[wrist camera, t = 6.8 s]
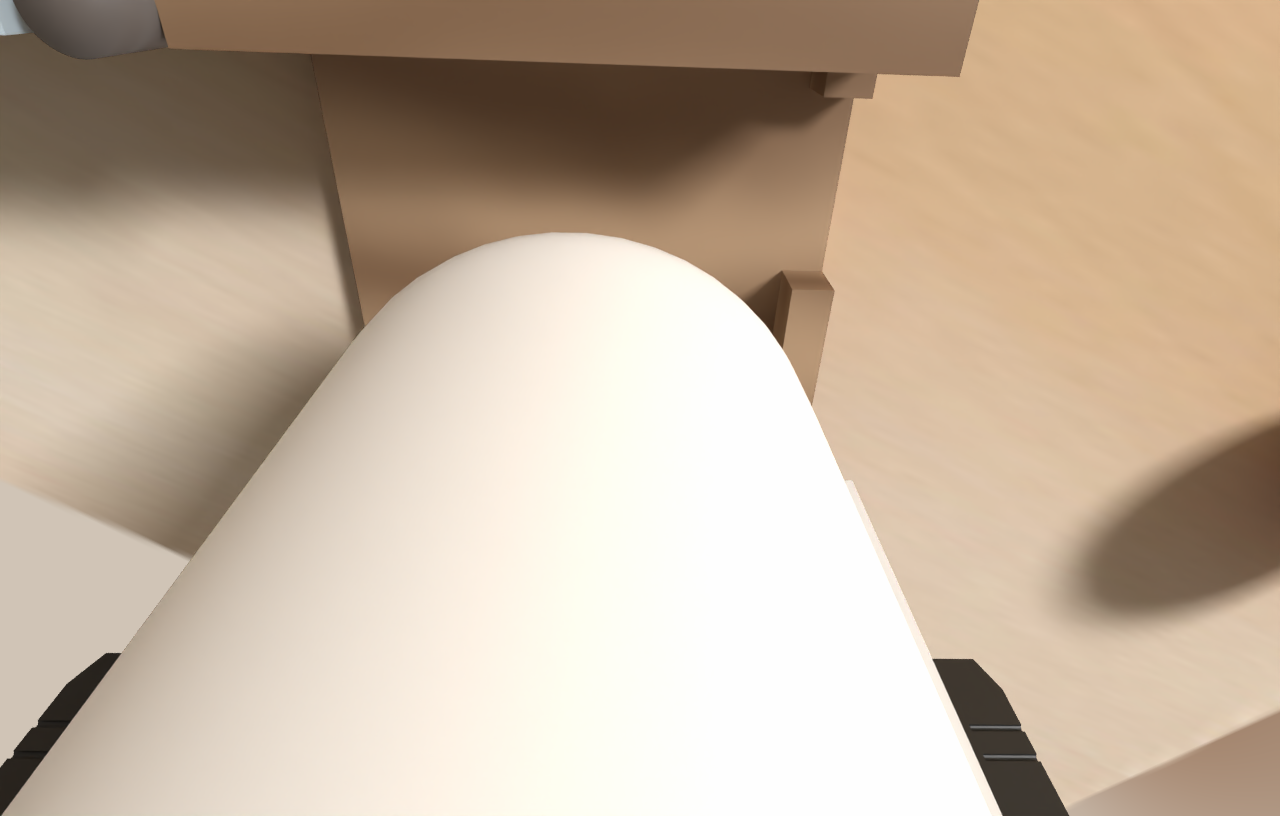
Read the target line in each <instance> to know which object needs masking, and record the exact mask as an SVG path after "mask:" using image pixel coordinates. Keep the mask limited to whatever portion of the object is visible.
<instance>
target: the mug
mask: <svg viewBox="0 0 1280 816" xmlns="http://www.w3.org/2000/svg"><path fill="white" fill-rule="evenodd" d="M2 816H992V815H991V813H990V811H989V809H988V806H987V804H986V802H985V800H984V797H983V795H982V793H981V790H980V788H979V786H978V784H977V781H976V779H975V777H974V775H973V772H972V770H971V768H970V765H969V763H968V761H967V759H966V756H965V754H964V752H963V750H962V747H961V745H960V743H959V740H958V738H957V736H956V734H955V731H954V729H953V727H952V725H951V722H950V720H949V718H948V715H947V713H946V711H945V709H944V706H943V704H942V702H941V700H940V697H939V695H938V693H937V690H936V688H935V686H934V684H933V681H932V679H931V677H930V675H929V672H928V670H927V668H926V665H925V663H924V661H923V659H922V656H921V654H920V652H919V650H918V647H917V645H916V643H915V640H914V638H913V636H912V634H911V631H910V629H909V627H908V624H907V622H906V620H905V618H904V615H903V613H902V611H901V609H900V606H899V604H898V602H897V599H896V597H895V595H894V593H893V590H892V588H891V586H890V584H889V581H888V579H887V577H886V574H885V572H884V570H883V568H882V565H881V563H880V561H879V559H878V556H877V554H876V552H875V549H874V547H873V545H872V543H871V540H870V538H869V536H868V534H867V531H866V529H865V527H864V524H863V522H862V520H861V518H860V515H859V513H858V511H857V509H856V506H855V504H854V502H853V499H852V497H851V495H850V493H849V490H848V488H847V486H846V484H845V481H844V479H843V477H842V474H841V472H840V470H839V468H838V465H837V463H836V461H835V459H834V456H833V454H832V452H831V449H830V447H829V445H828V443H827V440H826V438H825V436H824V434H823V431H822V429H821V427H820V424H819V422H818V420H817V418H816V415H815V413H814V411H813V409H812V406H811V404H810V402H809V400H808V398H807V396H806V394H805V392H804V389H803V387H802V385H801V383H800V381H799V379H798V377H797V375H796V373H795V371H794V369H793V367H792V365H791V363H790V361H789V359H788V358H787V356H786V354H785V353H784V351H783V349H782V348H781V346H780V345H779V343H778V342H777V341H776V339H775V338H774V336H773V335H772V333H771V332H770V331H769V329H768V328H767V326H766V325H765V324H764V323H763V322H762V321H761V320H760V319H759V317H758V316H757V315H756V314H755V313H754V312H753V311H752V310H751V309H750V308H749V307H748V306H747V305H746V304H745V303H744V302H743V301H742V300H741V299H740V298H739V297H738V296H737V295H735V294H734V293H733V292H732V291H730V290H729V289H728V288H726V287H725V286H724V285H723V284H721V283H720V282H719V281H718V280H716V279H715V278H714V277H712V276H711V275H709V274H707V273H706V272H704V271H702V270H701V269H699V268H697V267H695V266H694V265H692V264H690V263H689V262H687V261H685V260H683V259H681V258H678V257H676V256H674V255H671V254H669V253H667V252H664V251H662V250H660V249H657V248H655V247H652V246H648V245H644V244H641V243H637V242H634V241H630V240H627V239H623V238H618V237H611V236H604V235H597V234H590V233H558V232H551V233H542V234H533V235H524V236H516V237H512V238H508V239H504V240H500V241H496V242H492V243H488V244H484V245H482V246H479V247H477V248H474V249H472V250H469V251H467V252H464V253H462V254H459V255H457V256H454V257H452V258H451V259H449V260H447V261H445V262H444V263H442V264H440V265H438V266H437V267H435V268H433V269H431V270H430V271H428V272H426V273H425V274H423V275H421V276H419V277H418V278H416V279H415V280H414V281H413V282H411V283H410V284H409V285H407V286H406V287H405V288H404V289H402V290H401V291H400V292H399V293H397V294H396V295H395V296H394V297H392V298H391V299H390V300H389V301H388V303H387V304H386V305H385V306H384V307H383V308H382V309H381V310H380V311H379V312H378V313H377V314H376V315H375V316H374V318H373V319H372V320H371V321H370V322H369V323H368V324H367V325H366V326H365V327H364V328H363V329H362V331H361V332H360V333H359V334H358V335H357V337H356V338H355V339H354V340H353V342H352V343H351V344H350V345H349V347H348V348H347V350H346V351H345V352H344V354H343V355H342V356H341V358H340V359H339V360H338V362H337V363H336V364H335V366H334V367H333V368H332V370H331V371H330V372H329V374H328V375H327V377H326V378H325V379H324V381H323V382H322V383H321V385H320V386H319V387H318V389H317V390H316V391H315V393H314V394H313V395H312V397H311V398H310V399H309V401H308V402H307V404H306V405H305V406H304V408H303V409H302V410H301V412H300V413H299V414H298V416H297V417H296V418H295V420H294V421H293V422H292V424H291V425H290V427H289V428H288V429H287V431H286V432H285V433H284V435H283V436H282V437H281V439H280V440H279V441H278V443H277V444H276V445H275V447H274V448H273V449H272V451H271V452H270V454H269V455H268V456H267V458H266V459H265V460H264V462H263V463H262V464H261V466H260V467H259V468H258V470H257V471H256V472H255V474H254V475H253V476H252V478H251V479H250V481H249V482H248V483H247V485H246V486H245V487H244V489H243V490H242V491H241V493H240V494H239V495H238V497H237V498H236V499H235V501H234V502H233V503H232V505H231V506H230V508H229V509H228V510H227V512H226V513H225V514H224V516H223V517H222V518H221V520H220V521H219V522H218V524H217V525H216V526H215V528H214V529H213V531H212V532H211V533H210V535H209V536H208V537H207V539H206V540H205V541H204V543H203V544H202V545H201V547H200V548H199V549H198V551H197V552H196V553H195V555H194V556H193V558H192V559H191V560H190V562H189V563H188V564H187V566H186V567H185V569H184V570H183V571H182V572H181V574H180V575H179V576H178V578H177V579H176V581H175V582H174V583H173V585H172V586H171V587H170V589H169V590H168V591H167V593H166V594H165V595H164V597H163V598H162V599H161V601H160V602H159V604H158V605H157V606H156V607H155V609H154V610H153V612H152V613H151V614H150V616H149V617H148V618H147V620H146V621H145V622H144V624H143V625H142V626H141V628H140V629H139V630H138V632H137V633H136V635H135V636H134V637H133V639H132V640H131V641H130V643H129V644H128V645H127V647H126V648H125V649H124V651H123V652H122V653H121V655H120V656H119V657H118V659H117V660H116V662H115V663H114V664H113V666H112V667H111V668H110V670H109V671H108V672H107V674H106V675H105V676H104V678H103V679H102V680H101V682H100V683H99V684H98V686H97V687H96V689H95V690H94V691H93V693H92V694H91V695H90V697H89V698H88V699H87V701H86V702H85V703H84V705H83V706H82V707H81V709H80V710H79V711H78V713H77V714H76V716H75V717H74V718H73V720H72V721H71V722H70V724H69V725H68V726H67V728H66V729H65V730H64V732H63V733H62V734H61V736H60V737H59V739H58V740H57V741H56V743H55V744H54V745H53V747H52V748H51V749H50V751H49V752H48V753H47V755H46V756H45V757H44V759H43V760H42V761H41V763H40V764H39V766H38V767H37V768H36V770H35V771H34V772H33V774H32V775H31V776H30V778H29V779H28V780H27V782H26V783H25V784H24V786H23V787H22V788H21V790H20V791H19V793H18V794H17V795H16V797H15V798H14V799H13V801H12V802H11V803H10V805H9V806H8V807H7V809H6V810H5V811H4V813H3V814H2Z"/></svg>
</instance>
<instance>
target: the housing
mask: <svg viewBox="0 0 1280 816" xmlns="http://www.w3.org/2000/svg"><path fill="white" fill-rule="evenodd" d="M13 2H14V4H15V6H16V9H17V10H18V12H19V14H20V16H21V17H22V19H23V20H24V21H25V23H26V24H27V25H28V27H29V28H30V29H31V30H32V31H33V32H34V33H35V34H36V35H37V36H38V37H39V38H40V39H41V40H42V41H43V42H45V43H46V44H47V45H49V46H50V47H52V48H53V49H55V50H57V51H59V52H61V53H63V54H65V55H68V56H70V57H74V58H78V59H96V58H103V57H109V56H115V55H122V54H128V53H134V52H141V51H147V50H153V49H160V48H166V47H168V48H169V49H192V50H220V51H249V52H277V53H305V54H311V58H312V64H313V69H314V74H315V79H316V84H317V89H318V94H319V99H320V104H321V109H322V114H323V119H324V124H325V129H326V134H327V139H328V144H329V149H330V154H331V159H332V164H333V169H334V174H335V179H336V184H337V190H338V195H339V200H340V205H341V210H342V215H343V220H344V225H345V230H346V235H347V240H348V245H349V250H350V255H351V260H352V265H353V270H354V275H355V280H356V285H357V290H358V295H359V300H360V305H361V310H362V315H363V321H364V326H366V325H367V324H368V323H369V322H370V321H371V320H372V319H373V318H374V316H375V315H376V314H377V313H378V312H379V311H380V310H381V309H382V308H383V307H384V306H385V305H386V304H387V303H388V301H389V300H390V299H391V298H392V297H394V296H395V295H396V294H397V293H399V292H400V291H401V290H402V289H404V288H405V287H406V286H407V285H409V284H410V283H411V282H413V281H414V280H415V279H416V278H418V277H419V276H421V275H423V274H425V273H426V272H428V271H430V270H431V269H433V268H435V267H437V266H438V265H440V264H442V263H444V262H445V261H447V260H449V259H451V258H452V257H454V256H457V255H459V254H462V253H464V252H467V251H469V250H472V249H474V248H477V247H479V246H482V245H484V244H488V243H492V242H496V241H500V240H504V239H508V238H512V237H516V236H524V235H533V234H542V233H551V232H558V233H590V234H597V235H604V236H611V237H618V238H623V239H627V240H630V241H634V242H637V243H641V244H644V245H648V246H652V247H655V248H657V249H660V250H662V251H664V252H667V253H669V254H671V255H674V256H676V257H678V258H681V259H683V260H685V261H687V262H689V263H690V264H692V265H694V266H695V267H697V268H699V269H701V270H702V271H704V272H706V273H707V274H709V275H711V276H712V277H714V278H715V279H716V280H718V281H719V282H720V283H721V284H723V285H724V286H725V287H726V288H728V289H729V290H730V291H732V292H733V293H734V294H735V295H737V296H738V297H739V298H740V299H741V300H742V301H743V302H744V303H745V304H746V305H747V306H748V307H749V308H750V309H751V310H752V311H753V312H754V313H755V314H756V315H757V316H758V317H759V319H760V320H761V321H762V322H763V323H764V324H765V325H766V326H767V328H768V329H769V331H770V332H771V333H772V335H773V336H774V338H775V339H776V341H777V342H778V343H779V345H780V346H781V348H782V349H783V351H784V353H785V354H786V356H787V358H788V359H789V361H790V363H791V365H792V367H793V369H794V371H795V373H796V375H797V377H798V379H799V381H800V383H801V385H802V387H803V389H804V392H805V394H806V396H807V398H808V400H809V402H810V404H811V406H812V402H813V397H814V392H815V387H816V382H817V377H818V372H819V367H820V362H821V357H822V352H823V346H824V341H825V336H826V331H827V326H828V321H829V316H830V311H831V306H832V301H833V296H834V289H833V288H832V286H831V285H830V283H829V282H828V280H827V278H826V277H825V275H824V274H823V272H822V267H823V262H824V256H825V251H826V246H827V240H828V235H829V229H830V224H831V218H832V213H833V208H834V202H835V197H836V191H837V186H838V180H839V175H840V169H841V164H842V159H843V153H844V148H845V142H846V137H847V131H848V126H849V120H850V115H851V110H852V104H853V99H854V98H865V99H872V98H873V93H874V88H875V83H876V78H877V74H895V75H923V76H951V77H960V73H961V69H962V65H963V61H964V57H965V53H966V49H967V45H968V41H969V37H970V34H971V30H972V26H973V22H974V18H975V14H976V10H977V6H978V2H979V0H13Z"/></svg>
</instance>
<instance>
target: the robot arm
mask: <svg viewBox="0 0 1280 816" xmlns="http://www.w3.org/2000/svg"><path fill="white" fill-rule="evenodd" d="M844 481H845V484H846V486H847V488H848V490H849V493H850V495H851V497H852V499H853V502H854V504H855V506H856V509H857V511H858V513H859V515H860V518H861V520H862V522H863V524H864V527H865V529H866V531H867V534H868V536H869V538H870V540H871V543H872V545H873V547H874V549H875V552H876V554H877V556H878V559H879V561H880V563H881V565H882V568H883V570H884V572H885V574H886V577H887V579H888V581H889V584H890V586H891V588H892V590H893V593H894V595H895V597H896V599H897V602H898V604H899V606H900V609H901V611H902V613H903V615H904V618H905V620H906V622H907V624H908V627H909V629H910V631H911V634H912V636H913V638H914V640H915V643H916V645H917V647H918V650H919V652H920V654H921V656H922V659H923V661H924V663H925V665H926V668H927V670H928V672H929V675H930V677H931V679H932V681H933V684H934V686H935V688H936V690H937V693H938V695H939V697H940V700H941V702H942V704H943V706H944V709H945V711H946V713H947V715H948V718H949V720H950V722H951V725H952V727H953V729H954V731H955V734H956V736H957V738H958V740H959V743H960V745H961V747H962V750H963V752H964V754H965V756H966V759H967V761H968V763H969V765H970V768H971V770H972V772H973V775H974V777H975V779H976V781H977V784H978V786H979V788H980V790H981V793H982V795H983V797H984V800H985V802H986V804H987V806H988V809H989V811H990V813H991V815H992V816H1069V815H1068V813H1067V811H1066V809H1065V807H1064V805H1063V803H1062V801H1061V799H1060V798H1059V796H1058V794H1057V792H1056V790H1055V788H1054V786H1053V784H1052V782H1051V781H1050V779H1049V777H1048V775H1047V773H1046V771H1045V769H1044V767H1043V765H1042V763H1041V762H1038V761H1037V758H1036V752H1035V750H1034V748H1033V746H1032V745H1031V743H1030V741H1029V739H1028V737H1027V735H1026V733H1025V732H1022V730H1021V724H1020V722H1019V720H1018V718H1017V716H1016V714H1015V712H1014V710H1013V709H1012V707H1011V705H1010V703H1009V701H1008V699H1007V697H1006V695H1005V693H1004V692H1003V690H1002V689H1001V688H1000V687H999V685H998V684H997V683H996V682H995V681H994V680H993V679H992V678H991V677H990V676H989V675H988V674H987V673H986V672H985V671H984V670H983V669H982V668H981V667H980V666H979V665H978V664H977V663H976V662H975V661H974V660H973V659H932V657H931V655H930V653H929V651H928V649H927V646H926V644H925V642H924V640H923V637H922V635H921V633H920V631H919V628H918V626H917V624H916V622H915V620H914V617H913V615H912V613H911V611H910V608H909V606H908V604H907V602H906V599H905V597H904V595H903V593H902V591H901V588H900V586H899V584H898V582H897V579H896V577H895V575H894V573H893V570H892V568H891V566H890V564H889V562H888V559H887V557H886V555H885V553H884V550H883V548H882V546H881V544H880V541H879V539H878V537H877V535H876V533H875V530H874V528H873V526H872V524H871V521H870V519H869V517H868V515H867V512H866V510H865V508H864V506H863V504H862V501H861V499H860V497H859V495H858V492H857V490H856V488H855V486H854V483H853V481H852V480H844ZM120 655H121V653H106V654H104V655H103V656H102V657H101V658H99V659H98V660H97V661H95V662H94V663H93V664H92V665H90V666H89V667H88V668H87V669H85V670H84V671H83V672H81V673H80V674H79V675H78V676H76V677H75V678H74V679H73V680H71V681H70V682H69V683H68V684H66V686H65V687H64V688H63V689H62V691H61V692H60V693H59V694H58V696H57V697H56V698H55V699H54V701H53V702H52V703H51V705H50V706H49V707H48V709H47V710H46V711H45V712H44V713H43V715H42V716H41V717H40V718H39V720H38V725H37V727H35V728H31V730H30V731H29V732H28V733H27V735H26V736H25V737H24V738H23V740H22V741H21V742H20V743H19V745H18V746H17V747H16V749H15V750H14V755H13V757H12V758H11V759H7V760H6V761H5V762H4V764H3V765H2V766H1V767H0V816H2V814H3V813H4V811H5V810H6V809H7V807H8V806H9V805H10V803H11V802H12V801H13V799H14V798H15V797H16V795H17V794H18V793H19V791H20V790H21V788H22V787H23V786H24V784H25V783H26V782H27V780H28V779H29V778H30V776H31V775H32V774H33V772H34V771H35V770H36V768H37V767H38V766H39V764H40V763H41V761H42V760H43V759H44V757H45V756H46V755H47V753H48V752H49V751H50V749H51V748H52V747H53V745H54V744H55V743H56V741H57V740H58V739H59V737H60V736H61V734H62V733H63V732H64V730H65V729H66V728H67V726H68V725H69V724H70V722H71V721H72V720H73V718H74V717H75V716H76V714H77V713H78V711H79V710H80V709H81V707H82V706H83V705H84V703H85V702H86V701H87V699H88V698H89V697H90V695H91V694H92V693H93V691H94V690H95V689H96V687H97V686H98V684H99V683H100V682H101V680H102V679H103V678H104V676H105V675H106V674H107V672H108V671H109V670H110V668H111V667H112V666H113V664H114V663H115V662H116V660H117V659H118V657H119V656H120Z"/></svg>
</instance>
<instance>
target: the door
mask: <svg viewBox="0 0 1280 816" xmlns="http://www.w3.org/2000/svg"><path fill="white" fill-rule="evenodd" d="M24 33H34V32H33V31H32V30H31V29H30V28H29V27H28V25H27V24H26V23H25V21H24V20H23V19H22V17H21V16H20V14H19V12H18V10H17V9H16V6H15V4H14V2H13V0H0V35H14V34H24Z"/></svg>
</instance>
